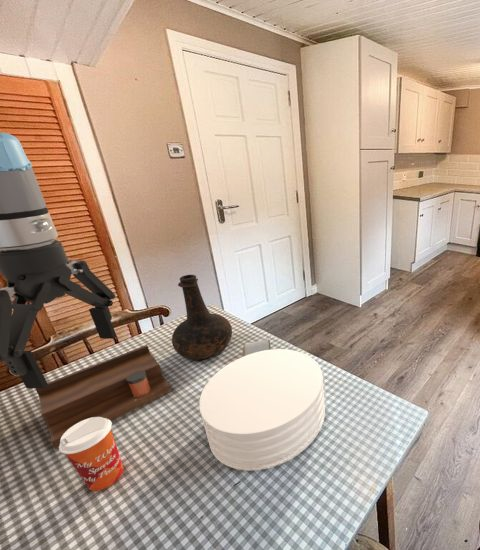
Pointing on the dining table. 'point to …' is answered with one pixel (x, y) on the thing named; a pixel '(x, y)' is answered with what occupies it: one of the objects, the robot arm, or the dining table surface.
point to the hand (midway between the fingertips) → (77, 359)
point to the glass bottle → (199, 326)
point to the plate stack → (263, 408)
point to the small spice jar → (138, 383)
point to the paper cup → (93, 452)
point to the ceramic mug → (256, 347)
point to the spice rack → (99, 392)
